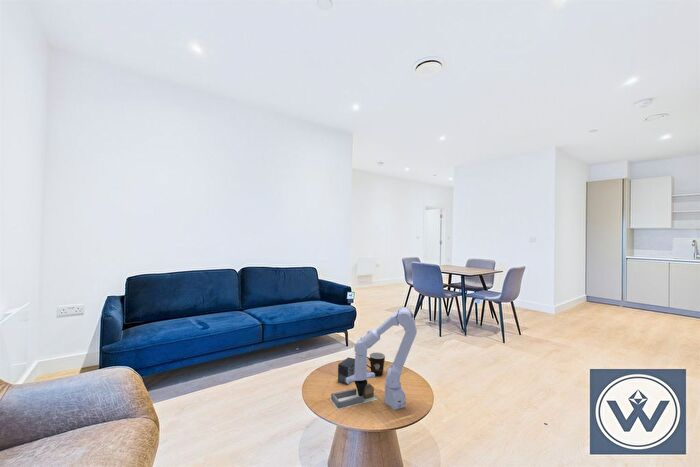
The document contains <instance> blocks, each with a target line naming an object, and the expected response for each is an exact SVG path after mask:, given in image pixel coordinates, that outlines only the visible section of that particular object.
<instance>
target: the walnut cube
mask: <svg viewBox="0 0 700 467" xmlns="http://www.w3.org/2000/svg"><path fill="white" fill-rule="evenodd" d="M374 391H375V387H374V386H373V385H372V384H371V383H370V382H367V385H366V386H365V388H364V391H363V395H362V396H363V397H364V398H365V399H368V398H372V397H375V395H374V393H375V392H374Z"/></svg>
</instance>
